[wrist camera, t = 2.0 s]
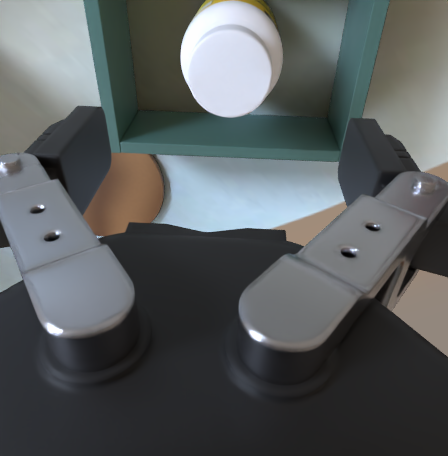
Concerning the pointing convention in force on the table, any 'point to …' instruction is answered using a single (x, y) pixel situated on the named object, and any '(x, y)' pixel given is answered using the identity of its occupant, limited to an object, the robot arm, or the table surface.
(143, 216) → the cork trivet
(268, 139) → the box
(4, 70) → the table surface
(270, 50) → the supplement bottle
